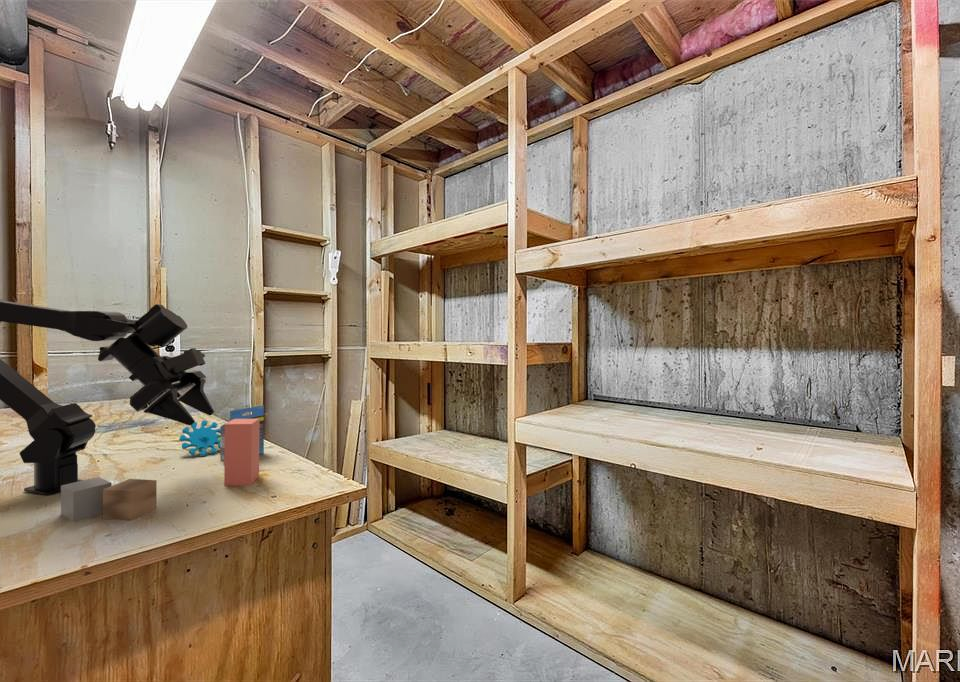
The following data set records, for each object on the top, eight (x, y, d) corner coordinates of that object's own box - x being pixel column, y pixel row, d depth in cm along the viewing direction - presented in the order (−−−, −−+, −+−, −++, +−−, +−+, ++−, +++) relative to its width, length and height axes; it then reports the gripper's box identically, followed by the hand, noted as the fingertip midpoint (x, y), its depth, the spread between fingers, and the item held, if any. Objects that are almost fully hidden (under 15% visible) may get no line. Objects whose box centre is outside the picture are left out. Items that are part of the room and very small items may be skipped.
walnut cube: (102, 519, 71) (102, 489, 70) (129, 506, 76) (129, 478, 75) (131, 521, 70) (131, 491, 70) (156, 508, 75) (156, 480, 75)
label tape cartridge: (254, 451, 109) (255, 403, 109) (264, 453, 108) (265, 405, 107) (219, 460, 101) (220, 408, 101) (229, 463, 100) (230, 410, 99)
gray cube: (61, 514, 72) (60, 485, 72) (98, 504, 76) (98, 476, 76) (73, 522, 69) (73, 492, 69) (111, 511, 74) (111, 482, 73)
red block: (224, 485, 86) (224, 424, 86) (233, 477, 91) (234, 418, 91) (251, 484, 87) (251, 423, 87) (258, 476, 92) (259, 418, 91)
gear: (178, 453, 100) (181, 418, 106) (174, 466, 103) (177, 431, 109) (231, 452, 107) (232, 419, 113) (226, 465, 110) (227, 431, 116)
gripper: (151, 336, 77) (216, 399, 79) (197, 334, 95) (249, 385, 97) (99, 379, 75) (167, 441, 78) (156, 368, 94) (209, 419, 96)
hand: (203, 418), depth 87 cm, fingers open, 9 cm apart
